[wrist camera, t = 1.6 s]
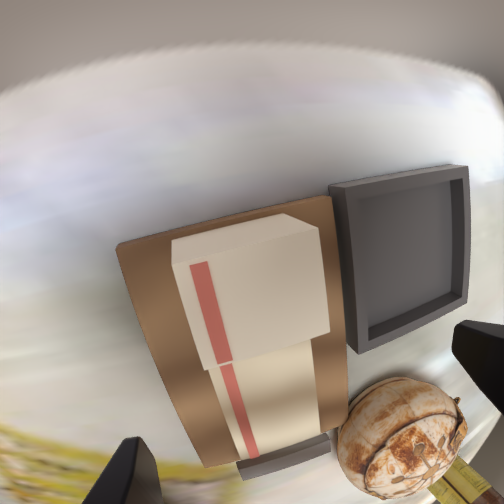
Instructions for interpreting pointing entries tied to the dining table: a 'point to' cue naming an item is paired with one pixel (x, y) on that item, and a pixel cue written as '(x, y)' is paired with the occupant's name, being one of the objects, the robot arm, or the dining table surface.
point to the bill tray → (402, 250)
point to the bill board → (181, 342)
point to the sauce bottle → (464, 486)
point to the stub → (251, 287)
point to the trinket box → (399, 437)
